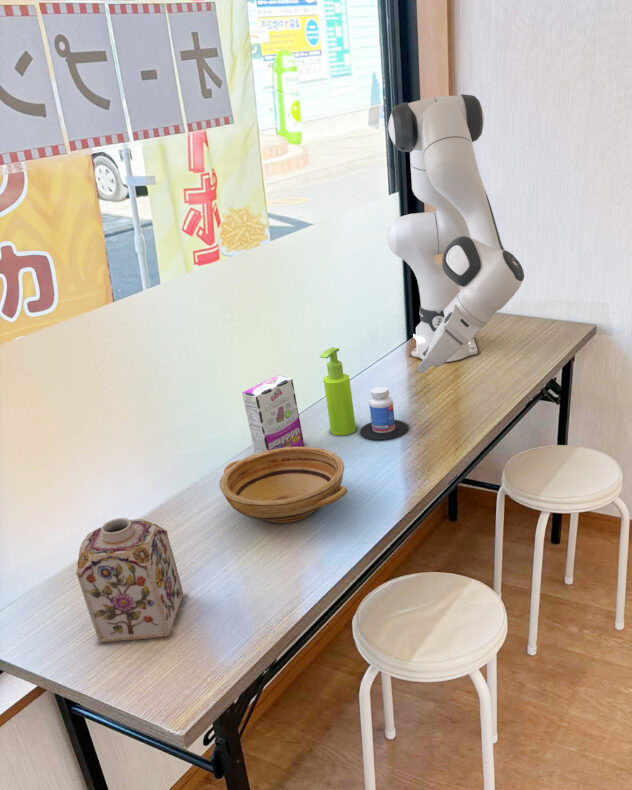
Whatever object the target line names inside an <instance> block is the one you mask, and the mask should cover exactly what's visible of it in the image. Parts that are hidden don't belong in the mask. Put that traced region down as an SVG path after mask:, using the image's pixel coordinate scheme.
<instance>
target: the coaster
mask: <svg viewBox="0 0 632 790" xmlns="http://www.w3.org/2000/svg"><path fill="white" fill-rule="evenodd" d="M407 432H408V425H407V423H406V422H404V421H402V420H398V419H395V429H394V430H393V431H391V432H388V433H376V432H374V431H373V430H372V422H369V423H367V424H365V425H363V426H362V427H361V428H360V431H359V433H360V435H361V437H362V438H363V439H365V440H369V441H376V442H379V441H381V442H383V441H390V440H394V439H397V438H400V437H402V436H403V435H405V434H406V433H407Z"/></svg>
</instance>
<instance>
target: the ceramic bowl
mask: <svg viewBox="0 0 632 790" xmlns="http://www.w3.org/2000/svg"><path fill="white" fill-rule="evenodd" d="M344 473H345V463H344V461H343V459H342V458H341V457H340V456H339V455H337V454H336V453H334V452H333V451H330V450H327V449H324V448H320V447H314V446H300V447H284V448H278V449H272V450H268V451H264V452H261V453H257V454H255V453H254V454H252V455H249V456H246V457H244V458H243V459H238V460H235V461H232V462H230V463H228V465H226V466H225V468H224V469H223V474H222V475H221V478H220V480H219V489H220V492H221V493H222V494H223V495H224V498H225V499H226V501H227V502H228V504H229V505H230V506H231V507H232V508H233V509H234V510H235V511H237V512H238V513H240V514H241V515H244V516H245V517H248V518H251V519H255V520H261V521H268V522H271V523H278V524H283V523H284V524H286V523H291V522H296V521H299V520H302V519H305V518H307V517H308V516H310V515H312V514H313V512H316V511H318V510H320V509H322V508H323V507H325V506H328V505H331V504H333V503H335V502H337V501H339V500H340V499H342V497H344V496H346V494H347V493H348V488H347V487H346V486H344V485H342V482H343V477H344ZM341 485H342V486H341Z"/></svg>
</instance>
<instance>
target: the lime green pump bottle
mask: <svg viewBox="0 0 632 790" xmlns="http://www.w3.org/2000/svg"><path fill="white" fill-rule="evenodd" d="M339 351H340V347H333V346H332V347H330V348H328V349H326V350H323V352H322V353H321V354H320V355H319V358H321V359H329V362H327V363H326V369H327V374H328V375H326V376H325V377H324V378H323V386H324V391H325V392H324V393H325V400H326V407H327V413H328V421H329V427H330V433H331V434H332V435H333V436H339V437H340V436H348V435H351V434H353V433H355V431H357V427H356V420H355V410H354V404H353V402H354V401H353V395H352V388H351V380H350V375H349V374H346V373H344V370H343V369H344V368H343V362H342V361H341V360H339V359H338V352H339Z"/></svg>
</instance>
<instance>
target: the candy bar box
mask: <svg viewBox="0 0 632 790" xmlns="http://www.w3.org/2000/svg"><path fill="white" fill-rule="evenodd" d="M241 394H242V398H243V399H242V400H243V403H244V408H245V412H246V416H247V422H248V427H249V431H250V432H249V433H250V436H251V441H252V445H253V450H254V454H257V453H261V452H264V451H268V450H272V449H278V448H284V447H303V446H304V445H305V442H304V436H303V431H302V424H301V419H300V414H299V409H298V403H297V397H296V391H295V385H294V381H293V378H292V377H288V376H284V375H275V376H273V377H272V378H269V379H267V380H265V381H263V382H261V383H259V384H257V385H255V386H252V387H251V388H249V389H247V390H245V391H243V392H241Z"/></svg>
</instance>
